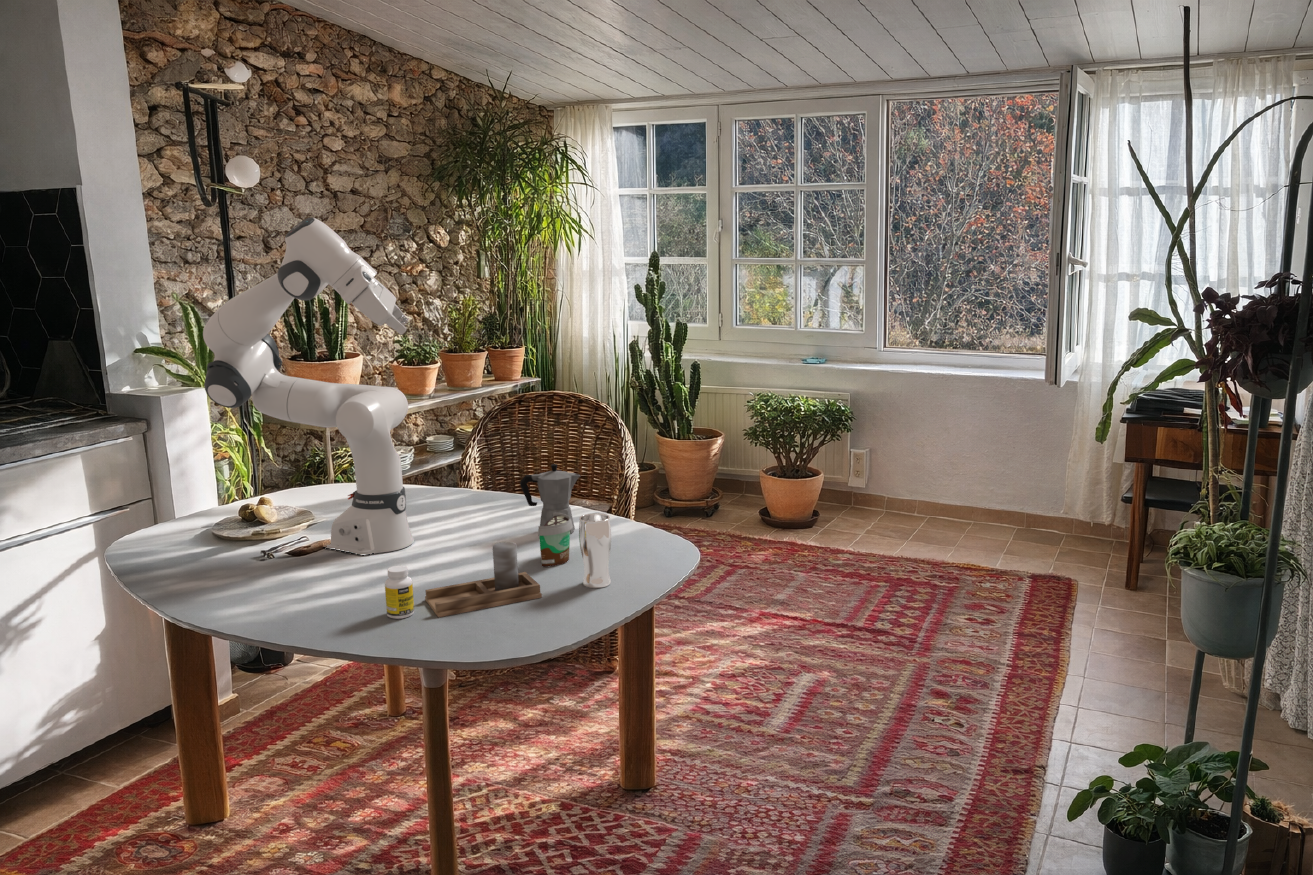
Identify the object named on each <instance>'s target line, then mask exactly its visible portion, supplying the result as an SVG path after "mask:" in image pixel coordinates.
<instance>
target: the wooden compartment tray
mask: <svg viewBox="0 0 1313 875" xmlns="http://www.w3.org/2000/svg"><path fill="white" fill-rule="evenodd" d="M517 548H518V546H517V543H514V542H510V541H507V542H506V541H504V542H498V543H497V542H496V543H495V544H493V545H492V558H493V577H489V578H485V579H484V578H483V579H479V580H473V581H468V582H463V583H462V582H461V583H456V584H451V585H445V586H440V587H434V588H429V589H425V596H424V600H425V602H426V603H427V604H428V605H429V607H430V609H431V610H432V611H433V613H434V614H435V615H436V617H438V618H443V617H448V616H454V615H458V614H463V613H468V612H469V613H470V612H475V611H479V610H484V609H489V608H495V607H501V606H505V605H510V604H516V603H522V602H526V601H530V600H535V599H536V600H537V599H541V598H543V594H542V593H541V585H540V584H539V583H538V582H537V581H536V580H535V579H534V578H533V577H532V576H530V575H529V574H528V573H527V571H523V572H519V567H518V566H519V565H518V564H519V563H518V550H517Z"/></svg>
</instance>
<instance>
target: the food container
mask: <svg viewBox="0 0 1313 875" xmlns="http://www.w3.org/2000/svg"><path fill="white" fill-rule="evenodd" d="M572 528H573V525H572V521H571V519H570V517H569V516H568V515H566V514H562V513H553V518H552V519H551V520H548V521H547V522H546V523H545V525H544V526H540V525H539V526H538V529H537V531H538V532H537V536H538V539H539V549H540V551H539V552H540V561H541V562H540V563H541V567H542V566H544V567H545V568H546V567H547V568H549V567H548V566H550V567H557V566H561V565H564V564H566V563H568V562H569V561H570V544H571V542H570V538H571V537H570V536H571V534H570V530H571V529H572ZM568 560H569V561H568ZM567 561H568V562H567ZM544 567H543V568H544Z"/></svg>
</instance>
